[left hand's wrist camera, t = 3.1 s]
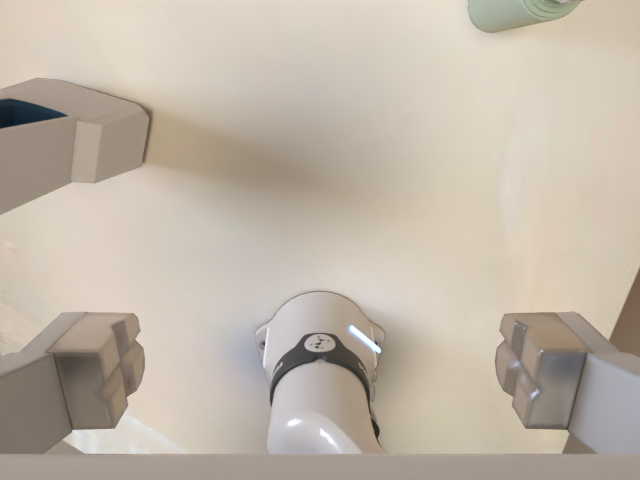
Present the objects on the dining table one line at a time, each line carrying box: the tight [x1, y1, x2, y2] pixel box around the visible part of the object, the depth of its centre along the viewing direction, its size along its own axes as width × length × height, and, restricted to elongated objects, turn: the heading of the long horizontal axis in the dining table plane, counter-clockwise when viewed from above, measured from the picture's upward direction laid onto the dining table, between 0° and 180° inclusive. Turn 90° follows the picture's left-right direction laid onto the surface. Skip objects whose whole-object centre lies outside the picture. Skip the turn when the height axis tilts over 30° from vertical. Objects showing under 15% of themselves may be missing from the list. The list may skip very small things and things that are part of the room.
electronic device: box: [0, 78, 149, 215], centre depth 41 cm, size 12×8×30 cm, turn 73°
